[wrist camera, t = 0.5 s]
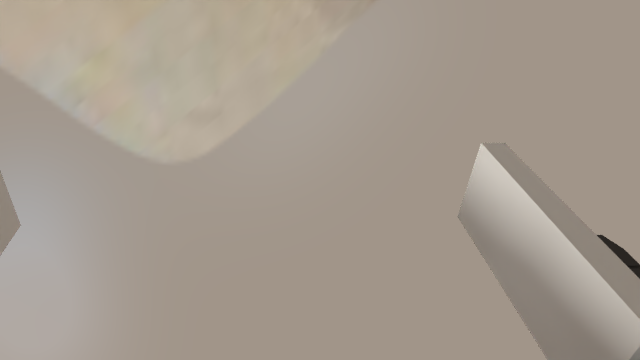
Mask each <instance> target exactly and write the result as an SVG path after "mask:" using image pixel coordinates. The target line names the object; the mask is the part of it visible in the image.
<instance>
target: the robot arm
mask: <svg viewBox="0 0 640 360" xmlns="http://www.w3.org/2000/svg"><path fill="white" fill-rule="evenodd" d="M458 218H459V220H460V221H461V223H462V224H463V226H464V228H465V229H466V230H467V232H468V234H469V236H470V237H471V239H472V240H473V242H474V244H475V245H476V247H477V248H478V250H479V251H480V253H481V255H482V256H483V258H484V259H485V261H486V263H487V264H488V266H489V267H490V269H491V270H492V272H493V274H494V275H495V277H496V279H497V280H498V282H499V283H500V285H501V287H502V288H503V290H504V291H505V293H506V294H507V296H508V298H509V299H510V301H511V303H512V304H513V306H514V307H515V309H516V310H517V312H518V314H519V315H520V317H521V318H522V320H523V322H524V323H525V325H526V326H527V328H528V330H529V331H530V333H531V334H532V336H533V338H534V339H535V341H536V342H537V344H538V346H539V347H540V349H541V350H542V352H543V353H544V355H545V357H546V358H547V360H640V265H639V263H637V261H635V260H634V259H633V258H632V257H631V256H630V255H629V254H628V253H627V252H626V251H625V250H624V249H623V248H621V247H620V246H618V245H617V244H615V243H614V242H612V241H610V240H609V239H607V238H606V237H604V236H603V235H595V233H594V232H593V231H592V230H591V229H590V228H589V227H588V226H587V225H586V224H585V223H584V222H583V221H582V220H581V219H580V218H579V217H578V216H577V215H576V214H575V213H574V212H573V211H572V210H571V209H570V208H569V207H568V206H567V205H566V204H565V203H564V202H563V201H562V200H561V199H560V198H559V197H558V196H557V195H556V194H555V193H554V192H553V191H552V190H551V189H550V188H549V187H548V186H547V185H546V184H545V183H544V182H543V181H542V180H541V179H540V178H539V177H538V176H537V175H536V174H535V173H534V172H533V171H532V170H531V169H530V168H529V167H528V166H527V165H526V164H525V163H524V162H523V161H522V159H520V158H519V157H518V156H517V154H515V152H514V151H513V150H512V149H510V147H509V146H508V145H507V144H506V143H481V145H480V148H479V152H478V155H477V158H476V161H475V164H474V167H473V170H472V174H471V177H470V180H469V183H468V186H467V189H466V193H465V196H464V198H463V202H462V204H461V207H460V211H459V214H458ZM19 227H20V222H19V220H18V217H17V214H16V212H15V209H14V206H13V204H12V201H11V198H10V196H9V193H8V190H7V188H6V185H5V182H4V179H3V177H2V174H1V171H0V255H1V254H2V252H3V251H4V249H5V248H6V246H7V245H8V243H9V242H10V240H11V239H12V237H13V236H14V234H15V233H16V231H17V230H18V228H19Z"/></svg>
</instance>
